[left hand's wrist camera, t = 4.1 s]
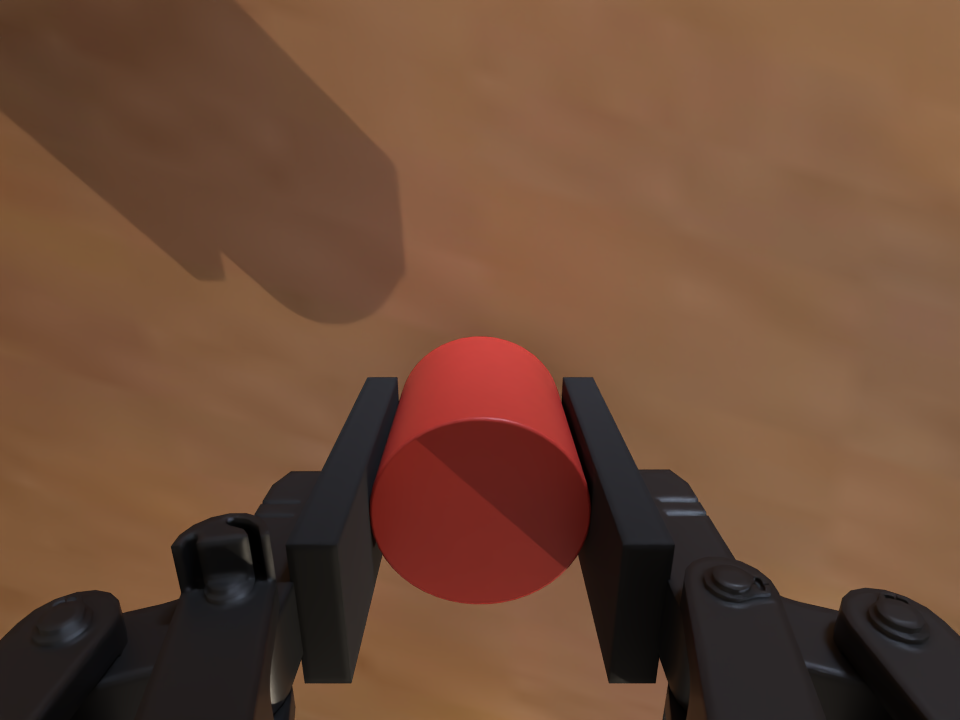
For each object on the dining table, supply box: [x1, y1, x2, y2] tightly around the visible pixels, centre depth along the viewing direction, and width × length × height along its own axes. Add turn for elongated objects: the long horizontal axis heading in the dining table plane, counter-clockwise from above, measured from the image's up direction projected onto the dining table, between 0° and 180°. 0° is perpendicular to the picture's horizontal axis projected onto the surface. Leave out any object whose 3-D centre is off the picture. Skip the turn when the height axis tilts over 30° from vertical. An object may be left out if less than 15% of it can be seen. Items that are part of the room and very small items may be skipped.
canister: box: [369, 337, 591, 604], centre depth 13 cm, size 4×4×5 cm
